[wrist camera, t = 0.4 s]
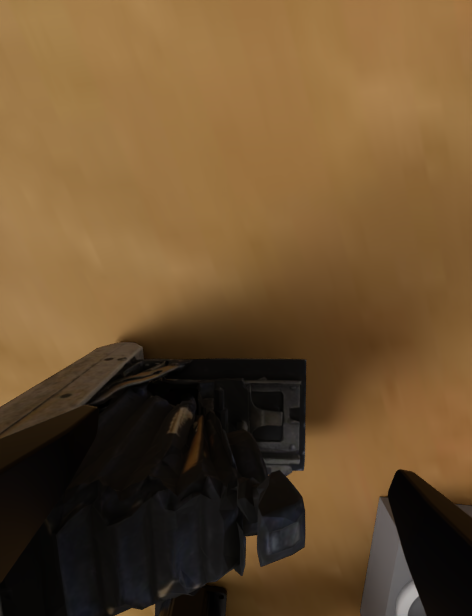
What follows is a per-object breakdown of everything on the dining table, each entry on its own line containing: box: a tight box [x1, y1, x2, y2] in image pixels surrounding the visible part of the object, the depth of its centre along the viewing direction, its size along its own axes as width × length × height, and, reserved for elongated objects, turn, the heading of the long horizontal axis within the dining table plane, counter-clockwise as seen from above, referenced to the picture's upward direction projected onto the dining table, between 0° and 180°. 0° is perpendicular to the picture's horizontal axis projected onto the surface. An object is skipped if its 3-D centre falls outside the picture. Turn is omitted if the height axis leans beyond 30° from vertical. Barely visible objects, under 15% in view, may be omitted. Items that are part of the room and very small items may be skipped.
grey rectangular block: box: [360, 497, 472, 616], centre depth 24 cm, size 12×8×4 cm, turn 176°
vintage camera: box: [0, 342, 306, 616], centre depth 15 cm, size 10×16×20 cm, turn 91°
